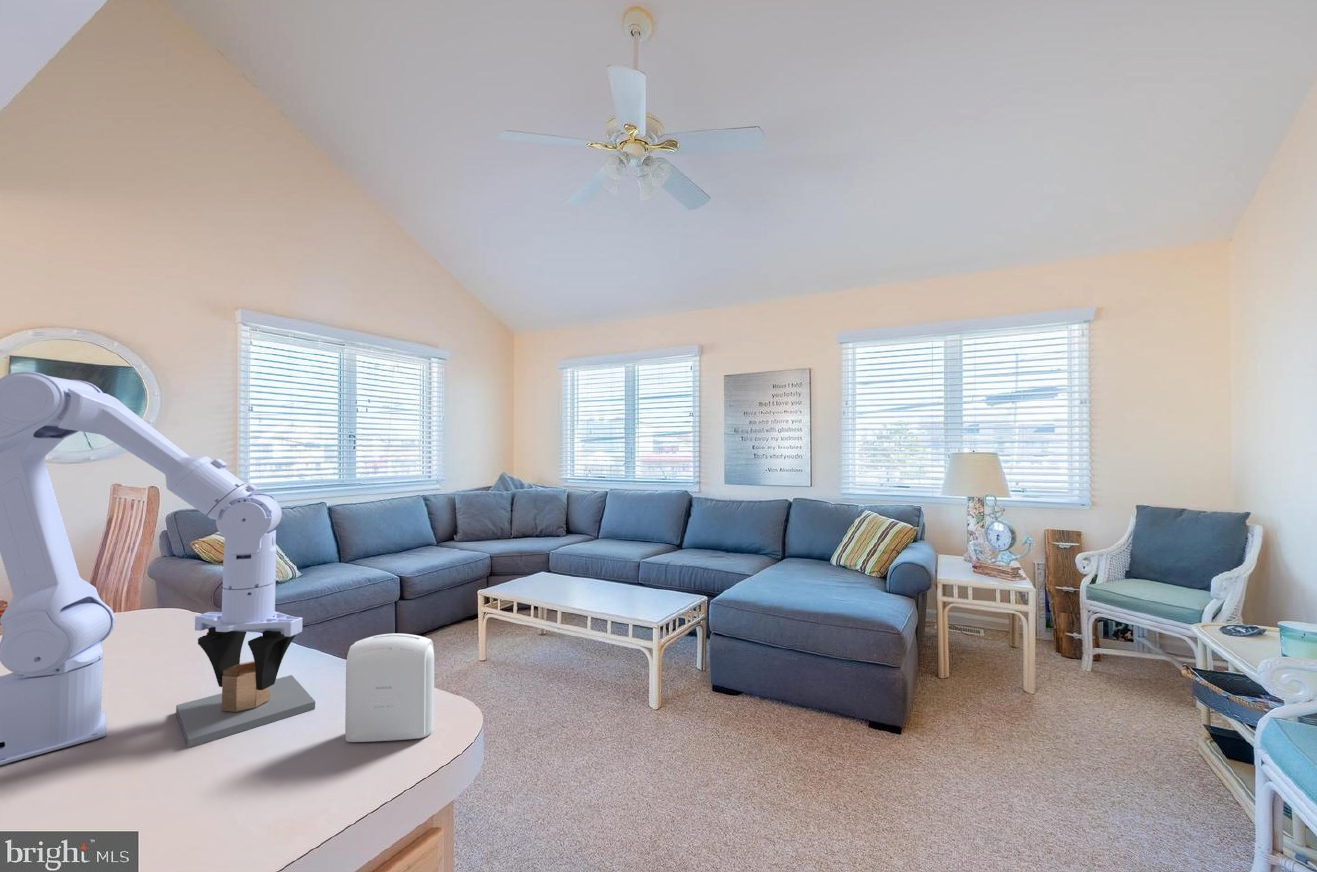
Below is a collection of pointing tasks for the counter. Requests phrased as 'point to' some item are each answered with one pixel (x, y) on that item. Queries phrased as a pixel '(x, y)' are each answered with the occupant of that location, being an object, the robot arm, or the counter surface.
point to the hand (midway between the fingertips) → (246, 685)
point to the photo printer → (389, 688)
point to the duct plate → (241, 712)
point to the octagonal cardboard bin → (241, 688)
